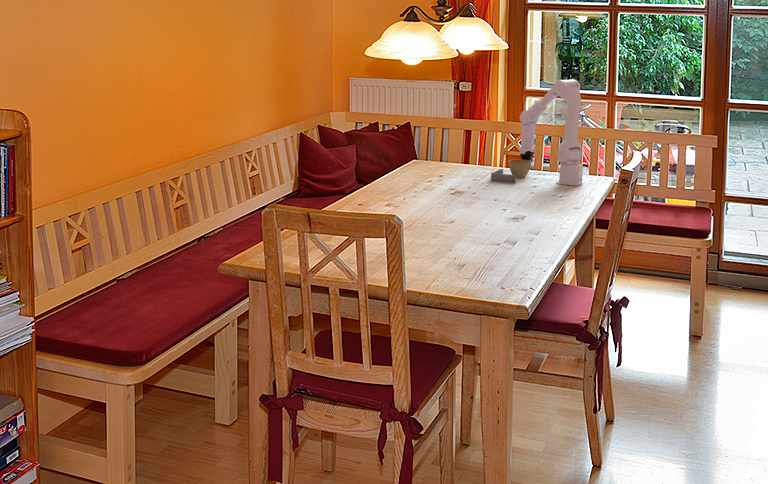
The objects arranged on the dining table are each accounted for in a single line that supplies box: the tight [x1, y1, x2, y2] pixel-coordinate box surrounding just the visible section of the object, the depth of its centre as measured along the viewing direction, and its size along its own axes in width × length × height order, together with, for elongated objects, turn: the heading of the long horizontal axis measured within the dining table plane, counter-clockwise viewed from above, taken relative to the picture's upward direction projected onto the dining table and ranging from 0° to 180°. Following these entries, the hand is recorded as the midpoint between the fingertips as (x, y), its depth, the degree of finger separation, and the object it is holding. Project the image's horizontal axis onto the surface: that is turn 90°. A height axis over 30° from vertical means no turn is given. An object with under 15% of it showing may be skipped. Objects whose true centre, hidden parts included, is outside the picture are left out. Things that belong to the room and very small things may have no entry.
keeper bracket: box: [490, 168, 517, 184], centre depth 362 cm, size 11×12×4 cm
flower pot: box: [508, 158, 532, 179], centre depth 368 cm, size 10×10×7 cm
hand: (526, 167), depth 376 cm, fingers closed
